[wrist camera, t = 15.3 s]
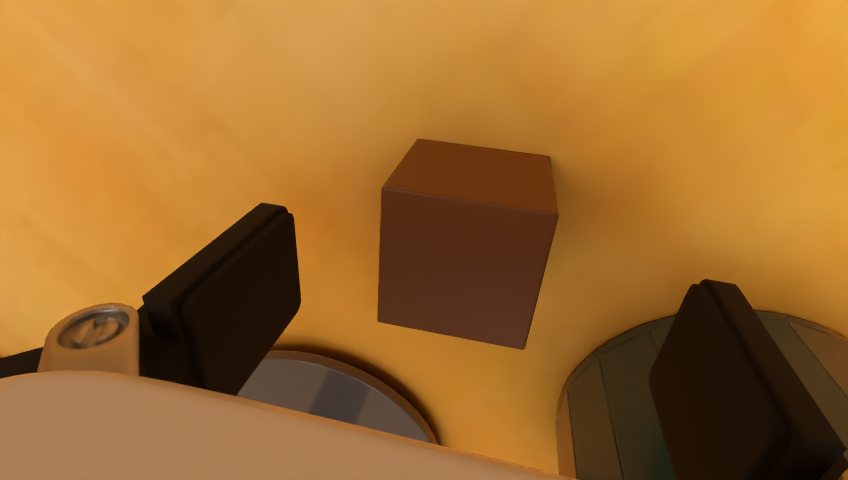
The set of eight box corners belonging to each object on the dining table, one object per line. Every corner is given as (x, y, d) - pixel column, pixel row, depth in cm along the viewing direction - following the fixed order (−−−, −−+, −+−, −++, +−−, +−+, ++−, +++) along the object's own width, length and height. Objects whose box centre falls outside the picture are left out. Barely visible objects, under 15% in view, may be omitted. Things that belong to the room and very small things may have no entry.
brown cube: (409, 249, 17) (376, 322, 13) (417, 138, 15) (380, 186, 11) (524, 269, 16) (524, 351, 13) (550, 155, 14) (559, 214, 10)
